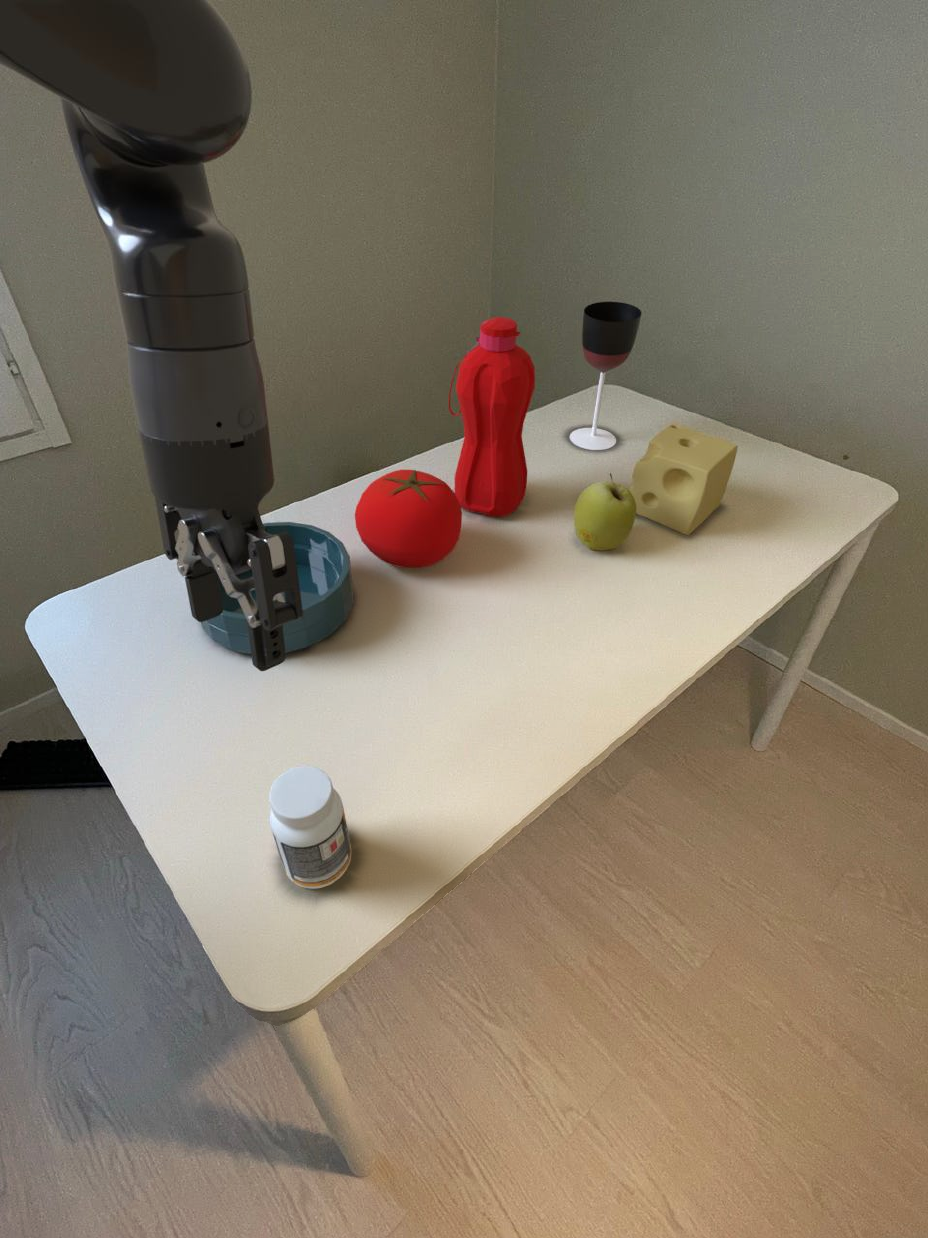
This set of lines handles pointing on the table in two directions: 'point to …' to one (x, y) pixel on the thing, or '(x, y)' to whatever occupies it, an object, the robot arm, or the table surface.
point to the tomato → (409, 519)
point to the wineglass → (605, 357)
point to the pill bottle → (309, 827)
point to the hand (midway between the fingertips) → (238, 640)
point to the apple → (604, 515)
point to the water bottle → (493, 420)
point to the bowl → (320, 590)
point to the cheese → (682, 477)
